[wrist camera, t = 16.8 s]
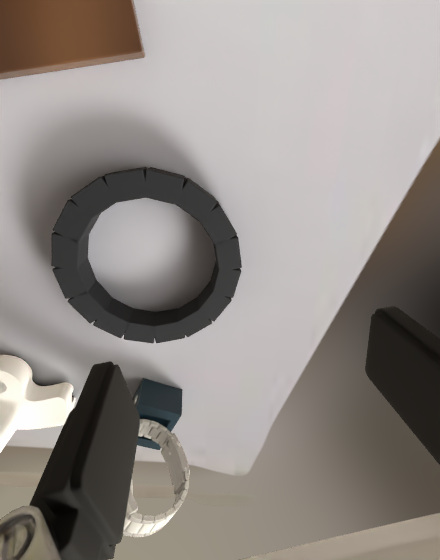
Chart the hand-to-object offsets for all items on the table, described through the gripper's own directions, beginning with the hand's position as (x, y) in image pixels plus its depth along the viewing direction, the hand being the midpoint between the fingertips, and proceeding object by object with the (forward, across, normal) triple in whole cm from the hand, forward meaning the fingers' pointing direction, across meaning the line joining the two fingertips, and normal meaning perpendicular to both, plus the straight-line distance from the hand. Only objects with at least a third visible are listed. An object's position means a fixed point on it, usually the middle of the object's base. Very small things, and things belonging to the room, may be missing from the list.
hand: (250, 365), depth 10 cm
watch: (+14, +9, +16) cm, 24 cm away
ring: (+14, +5, 0) cm, 15 cm away
